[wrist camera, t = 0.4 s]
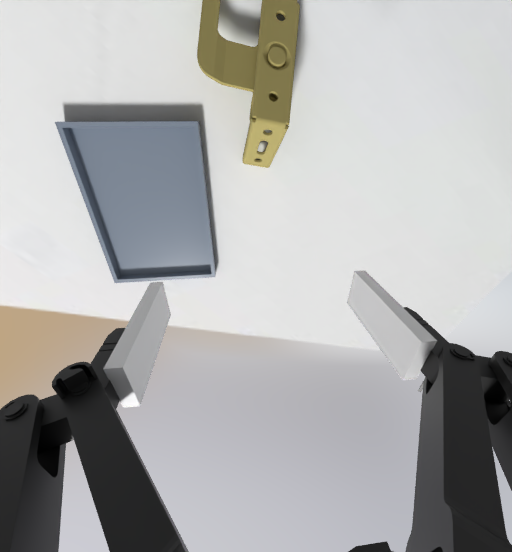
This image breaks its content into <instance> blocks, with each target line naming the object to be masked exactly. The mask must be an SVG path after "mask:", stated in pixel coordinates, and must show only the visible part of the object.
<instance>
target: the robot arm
mask: <svg viewBox="0 0 512 552" xmlns="http://www.w3.org/2000/svg"><path fill="white" fill-rule="evenodd" d="M347 303H348V305H349V306H350V308H351V309H352V310H353V312H354V313H355V315H356V316H357V317H358V319H359V320H360V322H361V323H362V324H363V326H364V327H365V329H366V330H367V331H368V333H369V334H370V335H371V337H372V338H373V340H374V341H375V342H376V344H377V345H378V347H379V348H380V349H381V351H382V352H383V353H384V355H385V356H386V358H387V359H388V360H389V362H390V363H391V365H392V366H393V367H394V369H395V370H396V372H397V373H398V374H399V376H400V377H401V379H402V380H409V379H417V377H418V375H419V373H420V371H421V372H422V373H423V374H424V375H425V376H426V378H425V380H424V381H423V383H422V385H421V386H420V388H419V390H418V391H420V392H421V391H422V389H423V394H422V408H421V421H420V434H419V447H418V461H417V473H416V486H415V500H414V512H413V525H412V531H411V535H410V537H409V540H408V543H407V547H406V552H512V545H511V544H510V543H509V541H508V539H507V535H506V531H505V524H504V518H503V512H502V506H501V499H500V494H499V487H498V481H497V475H496V469H495V462H494V456H493V450H492V447H493V449H494V451H495V453H496V456H497V458H498V460H499V463H500V465H501V467H502V470H503V472H504V474H505V476H506V479H507V481H508V483H509V486H510V488H511V490H512V353H509V352H503V351H499V352H496V353H495V354H494V355H493V357H492V358H488V357H482V356H476V355H474V354H473V353H472V352H471V351H470V350H468V349H467V348H465V347H463V346H460V345H457V344H453V343H449V342H447V341H446V340H445V339H444V338H443V337H442V336H441V335H440V334H439V333H438V332H437V331H436V330H435V329H433V328H432V327H431V326H430V325H428V323H427V322H426V321H425V320H423V318H422V317H421V316H419V315H418V314H417V313H416V312H414V311H413V310H411V309H409V308H407V307H404V308H403V307H402V306H401V305H400V304H399V303H398V302H397V301H396V300H395V299H394V298H393V297H392V296H391V295H390V294H389V293H387V292H386V291H385V290H384V289H383V288H382V287H381V286H380V285H379V284H378V283H377V282H376V281H375V280H374V279H373V278H372V277H371V276H370V275H369V274H368V273H367V272H366V271H354V275H353V279H352V284H351V288H350V292H349V296H348V300H347ZM170 315H171V314H170V310H169V306H168V302H167V298H166V294H165V290H164V286H163V282H155V283H150V285H149V286H148V288H147V290H146V292H145V294H144V296H143V297H142V299H141V301H140V303H139V305H138V306H137V308H136V310H135V312H134V314H133V316H132V317H131V319H130V321H129V323H128V325H127V327H126V328H118V329H115V330H114V331H113V332H112V333H111V334H109V335H108V337H107V338H106V340H105V341H104V343H103V345H102V346H101V348H100V349H99V352H98V353H97V354H96V356H95V358H94V359H93V361H92V362H91V364H89V363H87V362H79V363H75V364H72V365H70V366H68V367H66V368H64V369H63V370H61V371H60V372H59V373H58V374H57V375H56V376H55V378H54V380H53V381H52V387H53V389H54V390H55V391H56V393H57V395H54V396H51V397H48V398H45V399H42V400H39V399H38V397H36V396H34V395H24V396H21V397H18V398H16V399H15V400H12V401H10V402H9V403H8V404H7V405H5V406H4V407H3V408H1V410H0V552H58V548H59V534H60V519H61V506H62V492H63V477H64V463H65V448H66V443H68V442H70V441H72V440H74V441H75V444H76V447H77V450H78V453H79V456H80V459H81V462H82V466H83V469H84V472H85V475H86V478H87V481H88V485H89V488H90V491H91V494H92V497H93V500H94V503H95V507H96V510H97V513H98V516H99V519H100V522H101V525H102V529H103V532H104V535H105V538H106V541H107V544H108V547H109V551H110V552H188V550H187V548H186V546H185V544H184V542H183V540H182V538H181V536H180V534H179V532H178V530H177V528H176V526H175V524H174V522H173V520H172V518H171V516H170V514H169V512H168V510H167V508H166V506H165V505H164V503H163V501H162V499H161V497H160V495H159V493H158V491H157V489H156V487H155V485H154V483H153V481H152V479H151V477H150V475H149V473H148V471H147V469H146V467H145V465H144V463H143V461H142V459H141V458H140V455H139V454H138V452H137V450H136V448H135V446H134V444H133V442H132V440H131V438H130V436H129V434H128V432H127V430H126V428H125V426H124V424H123V422H122V420H121V418H120V416H119V414H118V412H117V411H116V408H117V405H118V403H119V401H120V402H121V404H122V406H123V407H124V408H125V407H135V406H140V405H141V402H142V399H143V396H144V393H145V390H146V387H147V384H148V381H149V378H150V375H151V372H152V369H153V366H154V363H155V360H156V357H157V354H158V351H159V348H160V345H161V342H162V339H163V336H164V333H165V330H166V327H167V324H168V321H169V318H170ZM509 399H510V401H509ZM510 402H511V403H510ZM349 552H393V551H391V550H390V548H389V546H388V543H387V542H381V543H375V544H368V545H362V546H356V547H355V548H353V549H352V550H350V551H349Z"/></svg>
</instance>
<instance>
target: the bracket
mask: <svg viewBox="0 0 512 552" xmlns="http://www.w3.org/2000/svg"><path fill="white" fill-rule="evenodd" d="M219 9H220V0H203V2H202V12H201V22H200V31H199V41H198V51H197V58H198V63H199V66H200V68H201V70H202V71H203V72H204V73H205V74H206V75H207V76H208V77H209V78H211V79H213V80H215V81H216V82H218V83H220V84H222V85H225V86H230V87H234V88H238V89H242V90H247V91H251V92H253V97H252V102H251V111H250V126H249V130H248V135H247V140H246V144H245V149H244V154H243V163H244V164H249V165H255V166H260V167H266V168H268V167H269V166H270V165H271V162H272V160H273V158H274V156H275V154H276V152H277V150H278V148H279V146H280V144H281V142H282V140H283V138H284V135H285V133H286V131H287V129H288V127H289V126H288V125H289V120H290V109H291V98H292V87H293V76H294V65H295V54H296V43H297V32H298V21H299V10H300V5H299V4H298V3H297V0H262V7H261V18H260V28H259V39H258V45H257V46H256V47H250V46H246V45H243V44H239V43H235V42H231V41H227V40H226V39H224V38H223V37H221V35H220V34H219V33H218V30H217V29H218V19H219ZM277 14H281V15H283V16H284V18H285V20H283V21H280V20H278V19H277V17H276V15H277ZM267 129H268V130H271V131H272V132H270V133H267V132H265V131H264V130H267ZM260 141H267V142H268V144H267V147H266V149H265V151H264V152H258V151H257V149H258V146H259V143H260ZM256 158H258V159H261V160H256Z"/></svg>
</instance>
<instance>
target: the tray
mask: <svg viewBox="0 0 512 552" xmlns="http://www.w3.org/2000/svg"><path fill="white" fill-rule="evenodd" d="M55 124H56V126H57V129H58V132H59V134H60V137H61V140H62V142H63V145H64V148H65V150H66V153H67V156H68V159H69V161H70V164H71V167H72V169H73V172H74V175H75V177H76V180H77V183H78V185H79V188H80V191H81V193H82V196H83V199H84V201H85V204H86V207H87V209H88V212H89V215H90V218H91V220H92V223H93V226H94V228H95V231H96V234H97V236H98V239H99V242H100V244H101V247H102V250H103V252H104V255H105V258H106V260H107V263H108V266H109V268H110V271H111V274H112V277H113V279H114V282H115V283H122V282H139V281H156V280H173V279H190V278H208V277H215V276H216V268H215V259H214V250H213V241H212V232H211V223H210V214H209V205H208V196H207V187H206V178H205V169H204V160H203V151H202V142H201V133H200V124H199V122H198V121H133V122H55Z"/></svg>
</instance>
